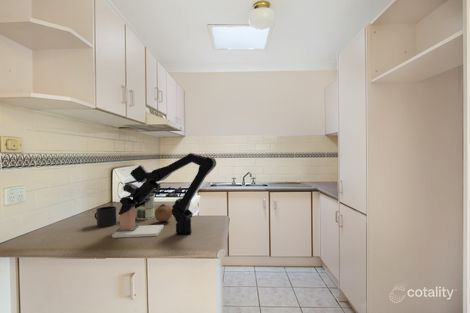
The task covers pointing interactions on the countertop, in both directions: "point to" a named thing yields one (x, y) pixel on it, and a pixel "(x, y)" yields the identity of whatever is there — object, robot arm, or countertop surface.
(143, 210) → the coffee can
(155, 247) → the countertop surface
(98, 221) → the mug
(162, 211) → the onion
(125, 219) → the pillar
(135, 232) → the build board
